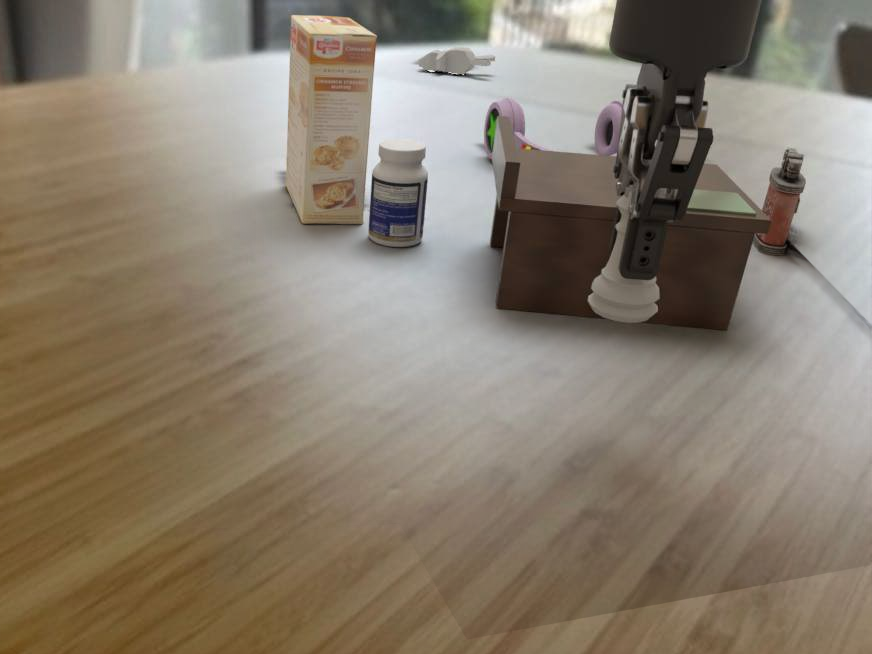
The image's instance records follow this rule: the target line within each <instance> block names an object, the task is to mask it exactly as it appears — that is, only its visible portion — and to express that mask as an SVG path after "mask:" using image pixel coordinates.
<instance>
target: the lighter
mask: <svg viewBox="0 0 872 654" xmlns="http://www.w3.org/2000/svg"><path fill="white" fill-rule="evenodd" d="M804 155H805V154H804V153H798V150H797V149H796V148H795V147H794V148H793V147H787V148H786V149H784V153H783V157H782V161H781V165H780V167H779V166H778V167H777V166H776V167H775V166H774V167H773V168H772V169H771V171H770V174H769V178H768V181H769V183H768V184H769V185H768V188H767V191H766V195H765V198H764V202H763V205H762V209H761V210H762V211H763V212H764V213H765V214H766V215H767V216H768V217H769V218H770V219H771V220H772V222H771V225H770V229H769V232H768V234H759V233H755V236H754V239H753V243H752V245H753V246H754V247H755V248H756V249H757V251H759V252H761V253H763V254H766V255H772V256H782V255H784V254H785V251H786V248H787V245H788V235H789V232H790V228H791V225H792V222H793V219H794V216H795V215H796V214H797V212H798V210H799V206H800V203H801V197H800V196H801V194H803V193H804V190H805V188H806V184H807V181H806V178H805V176H804V175H803V174H802V173H801V169H802V166H803V163H804V158H805V156H804Z"/></svg>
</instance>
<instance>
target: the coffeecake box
mask: <svg viewBox="0 0 872 654" xmlns="http://www.w3.org/2000/svg"><path fill="white" fill-rule="evenodd" d="M377 40H378V35H376V34H375V33H374V32H373V31H370V30H369V29H367V28H365V27H364V26H362V25H361V24H359V23H358V22H356V21H355V20H353V19H352V18H350V17H347V16H346V17H345V16H335V15H303V14H302V15H300V14H291V15H290V40H289V41H290V43H289V44H290V46H289V69H288V70H289V73H288V75H289V76H288V99H287V100H288V104H287V137H286V163H285V186H286V189H287V191H288V193H289V196H290V199H291V201H292V203H293V205H294V207H295V210H296V212H297V215H298V217H299V219H300V221H301V224H305V225H307V224H310V225H311V224H324V225H325V224H326V225H328V224H331V225H332V224H333V225H364V212H365V211H364V210H365V209H364V208H365V194H366V183H367V170H368V169H367V168H368V156H369V142H370V131H371V130H370V128H371V116H372V101H373V89H374V88H373V87H374V77H375V76H374V75H375V64H376V63H375V62H376V52H377V51H376V50H377Z"/></svg>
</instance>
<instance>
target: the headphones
mask: <svg viewBox="0 0 872 654" xmlns="http://www.w3.org/2000/svg"><path fill="white" fill-rule="evenodd" d="M622 105H623V100H613V101H611V102H610V103H609V104H607V105H606V106H604V107H603V109H601V112H600V113H599V115H598V116H597V119H596V123H595V127H594V128H595V129H594V148H595V151H596V155H605V156H616V155H617V147H618V139H619V130H620V122H621V113H622ZM497 116H505V117H510V121H511V125H512V130H513V134H514V138H515V142H516V146H517V148H519V149H531V150H544V151H553V150H551V149H548V148H546V147H543V146H541V145H539V144H536V143H534V142H533V141H531V140H529V139H528V138H527V137H526V118H525V112H524V109H523V108H522V106H521V104H520V103H519V102H517V101H516V100H515V99H514V98H508V97H507V98H502V99H501V100H498V101H494V102H492V103H491V104H490V105H489V107H488V109H487V113H486V116H485V120H484V127H483V141H484V142H483V145H484V150H485V153H486V156H487V158H488V159H490V160H492V152H493V145H494V138H495V130H496V123H497Z"/></svg>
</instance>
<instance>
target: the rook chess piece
mask: <svg viewBox="0 0 872 654" xmlns="http://www.w3.org/2000/svg"><path fill="white" fill-rule="evenodd" d="M632 190H633V185H629V187H626V190H625V194H624V195H623V196H622V197H621V198H620V199H619V200H617V206H618V208H619V210H620V212H621V214H622V217H621V220H620V222H619V223H618V224H616V227H615V228H616V230H617V231H618V233H617V238H616V242H615V245H614V248H613V251H612V253H611V256H610V259H609V261H608V263H607V265H606V267H605V268H603V269H602V271H601V275H599V276H598V277H596V278H595V279H594V281H593V283H592V287H591V289H592V290H593V292H594V293H592V294H591V295H589V296H588V302H589V304H590V306H591V308H592V309H593V310H594V312H595V313H597V314H598V315H600V316H602V317H604V318H603V319H605V318H607V320H611V321H614V322H621V323H626V324H627V323H628V324H629V323H630V324H631V323H632V324H633V323H635V324H637V323H643V322H642V321H646V320H648V319H649V318H650V317H652V316H653V315H654V314H655V313H656V312H658V306H657V305H656V304H655V303H654V302H656V301H657V300H658V299H660V297H659V287H658V286H657V284H656V283H655V282H656V276H655V278H653V279H652V280H637V279H626V278H623V277H622V276H621V274H620V272H619V269H618V267H619V262H620V257H621V252H622V247H623V242H624V238H625V233H626V228H627V223H628V218H629V213H628V207H629V205H630V203H631V196H632ZM664 190H665V189H662V188H661V189H658V190H657V191H656V193H655V196H654V198H665V196H666V192H664Z"/></svg>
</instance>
